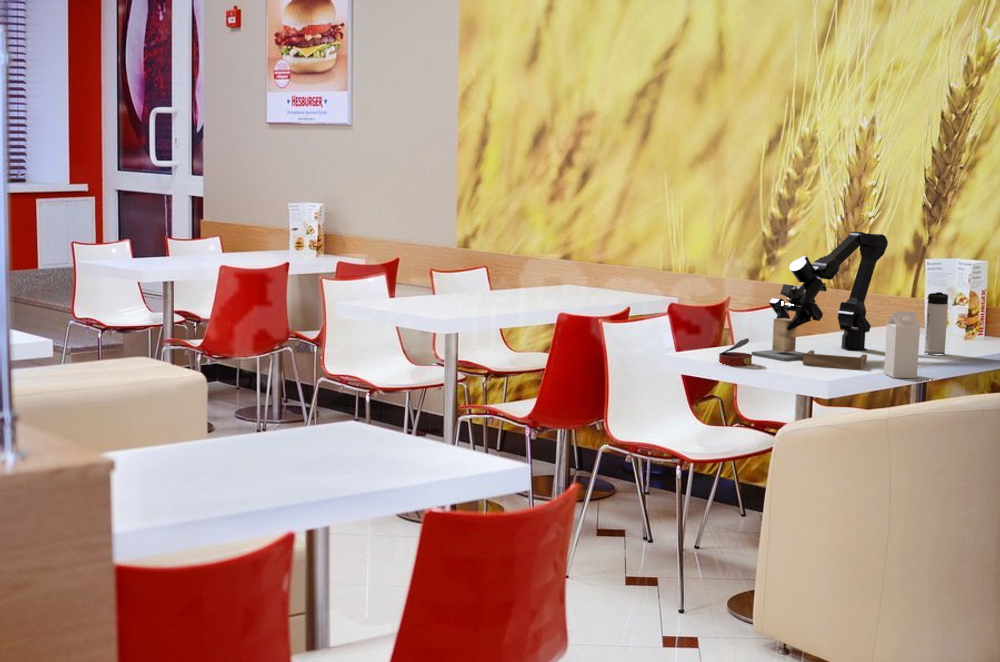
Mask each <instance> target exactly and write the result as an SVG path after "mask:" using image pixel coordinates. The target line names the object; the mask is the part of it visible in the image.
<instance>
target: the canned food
mask: <svg viewBox="0 0 1000 662" xmlns="http://www.w3.org/2000/svg"><path fill="white" fill-rule="evenodd" d="M749 342H750V339H749V338H747V337H746V338H744V339H741V340H739V341H738V342H736V343H735V344H734V345H732V346H731V347H730V348H728V349H727V350H725V351H722V352H720V353H719V355H718V356H719V357H718V363H719V362H720V363H722V364H725V365H724V366H726V365H729V366H728V367H748V366H747V365H750V366H752V362H753V359H752V357H753V355H752V353H751V354H750V353H748V352H747V353H746V352H738V351H737V352H736V351H733V350H737V349H739V348H741V347H743V346H745V345H747V344H748V343H749ZM722 364H721V365H722Z"/></svg>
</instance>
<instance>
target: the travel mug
mask: <svg viewBox="0 0 1000 662" xmlns="http://www.w3.org/2000/svg"><path fill="white" fill-rule="evenodd" d="M927 296H928V297H927V307H926V308H927V309H926V324H925V325H926V326H925V337H924V338H925V340H924V354H925V353H928V354H944V355H945V352H946V340H947V339H946V337H947V323H948V311H949V310H948V307H949V302H948V301H949V294H947V293H943V292H940V291H939V292H937V291H936V292H932V293H929V294H927Z"/></svg>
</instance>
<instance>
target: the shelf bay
mask: <svg viewBox="0 0 1000 662" xmlns="http://www.w3.org/2000/svg"><path fill="white" fill-rule="evenodd" d="M803 353H804V354H803V359H802V366H809V367H810V366H811V367H823V368H824V367H825V368H836V369H846V370H847V369H849V370H859V369H861V370H862V369H863V368H864V367H865V366H867V364H868V362H867V361H868V354H864V353H863V354H862V355H861V356H859V357H858V356H847V355H846V356H845V355H834V354H822V353H821V354H820V353H815V350H813V349H810V350H809V351H808V352H803Z"/></svg>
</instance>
